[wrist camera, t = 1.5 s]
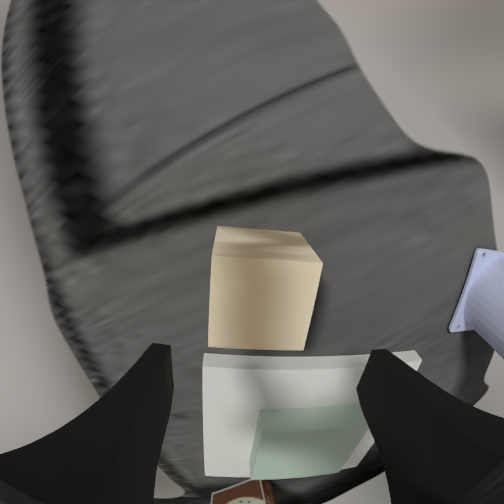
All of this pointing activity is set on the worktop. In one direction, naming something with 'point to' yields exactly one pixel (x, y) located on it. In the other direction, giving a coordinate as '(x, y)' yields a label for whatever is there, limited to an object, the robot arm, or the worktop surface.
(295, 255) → the maple cube
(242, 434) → the base board
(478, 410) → the robot arm
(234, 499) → the food container
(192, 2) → the worktop surface
